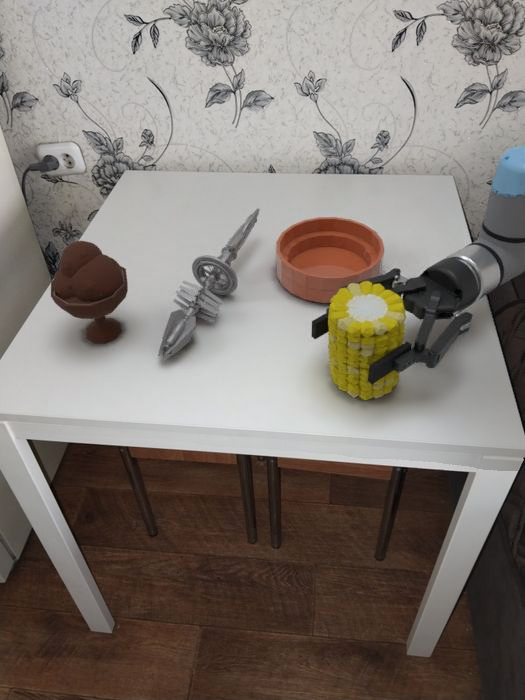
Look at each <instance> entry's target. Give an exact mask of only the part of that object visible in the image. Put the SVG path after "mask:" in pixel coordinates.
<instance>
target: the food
mask: <svg viewBox="0 0 525 700" xmlns="http://www.w3.org/2000/svg"><path fill="white" fill-rule="evenodd" d="M328 308H329V315H328V319H329V320H328V326H329V332H327V335H328V345H327V347H328V355H329V356H328V359H329V365H328V366H329V373H330V376H331V378H332V382H333V383H334V384H335V385H336V386H337V387H338V390H340V391H342V392H346V393H347V394H348V395H349V396H350V397H352V398H353V399H355V398H356V397H359V398H360V399H362V400H364V401H368V400H370V399H373V398H374V399H379V398H382V397H383V396H384V395H387V394H389V393H392V390H393V388H394V387H395V386H396V385H397V384H398V383H399V381H400V372H396V371H395V370H394V371H392V372H390V373H389V374H387V375H386V376H384V377H383V378H381V379H380V380H378V381H377V382H375V383H374V384H371V383H369V382H368V374H369V366H370V365H371V364H373V363H374V362H376V361H377V360H379V359H381V358H382V357H384V356H385V355H387V354H389V353H390V352H392V351H393V350H395V349H396V348H398V347H400V346H401V345H403V344H404V343H405V339H404V337H405V335H406V332H405V328H406V323H405V321H406V318H407V315H406V310H405V308H404V305H403V300H402V296H401V297H400V296H399V295H397V294H395V293H394V292H392V291H390V290H385V288H384V287H383V286H382V285H381V284H373V285H372V283H371V282H369V281H364V282H362V283H360V284H356V283H351V284H349V285H348V287H347V288H341V289H339V291H338V293H337V294H336V295H334V296H333V297H332V298H331V303H329V307H328Z"/></svg>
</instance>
